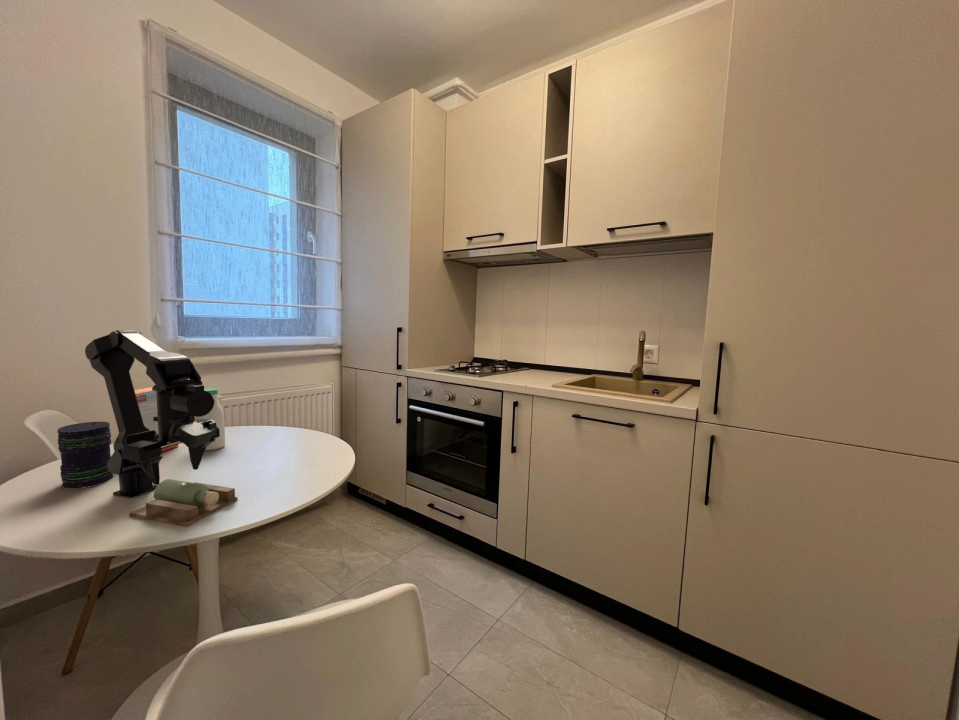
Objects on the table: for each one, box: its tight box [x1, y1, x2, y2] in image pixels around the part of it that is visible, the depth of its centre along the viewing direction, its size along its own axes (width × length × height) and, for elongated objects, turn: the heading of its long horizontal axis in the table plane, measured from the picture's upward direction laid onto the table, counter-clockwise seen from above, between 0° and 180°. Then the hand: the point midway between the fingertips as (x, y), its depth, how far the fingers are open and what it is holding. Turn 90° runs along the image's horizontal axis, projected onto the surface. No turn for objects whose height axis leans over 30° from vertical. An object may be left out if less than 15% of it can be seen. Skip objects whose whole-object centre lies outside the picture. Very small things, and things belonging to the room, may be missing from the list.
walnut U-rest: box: [129, 482, 238, 528], centre depth 91 cm, size 16×13×3 cm
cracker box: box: [134, 386, 179, 453], centre depth 125 cm, size 14×6×21 cm, turn 169°
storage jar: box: [57, 421, 114, 489], centre depth 103 cm, size 10×10×15 cm
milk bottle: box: [196, 387, 226, 451], centre depth 131 cm, size 8×8×20 cm
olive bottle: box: [153, 478, 219, 508], centre depth 90 cm, size 5×5×14 cm
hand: (176, 476), depth 91 cm, fingers open, 9 cm apart
